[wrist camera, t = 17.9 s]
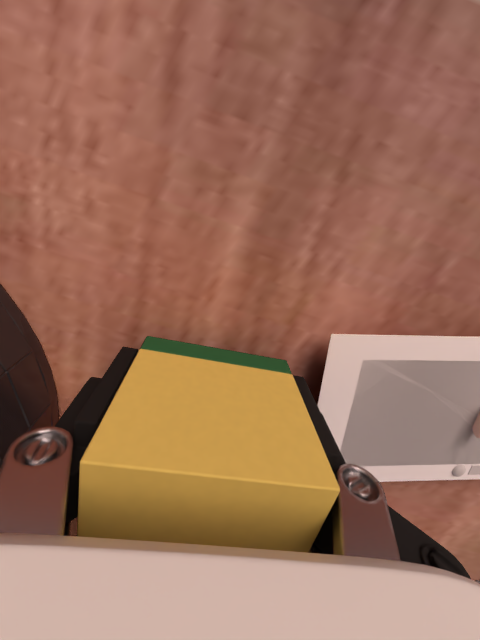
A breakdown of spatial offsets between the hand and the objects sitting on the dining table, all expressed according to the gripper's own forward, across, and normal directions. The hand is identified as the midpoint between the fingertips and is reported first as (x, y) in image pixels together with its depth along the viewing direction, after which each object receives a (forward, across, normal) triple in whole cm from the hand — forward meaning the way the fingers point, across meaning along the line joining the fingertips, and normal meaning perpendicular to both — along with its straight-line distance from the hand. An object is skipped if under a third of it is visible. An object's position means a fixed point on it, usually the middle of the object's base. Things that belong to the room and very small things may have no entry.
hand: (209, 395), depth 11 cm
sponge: (0, 0, 0) cm, 1 cm away
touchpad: (+1, -12, -1) cm, 12 cm away
